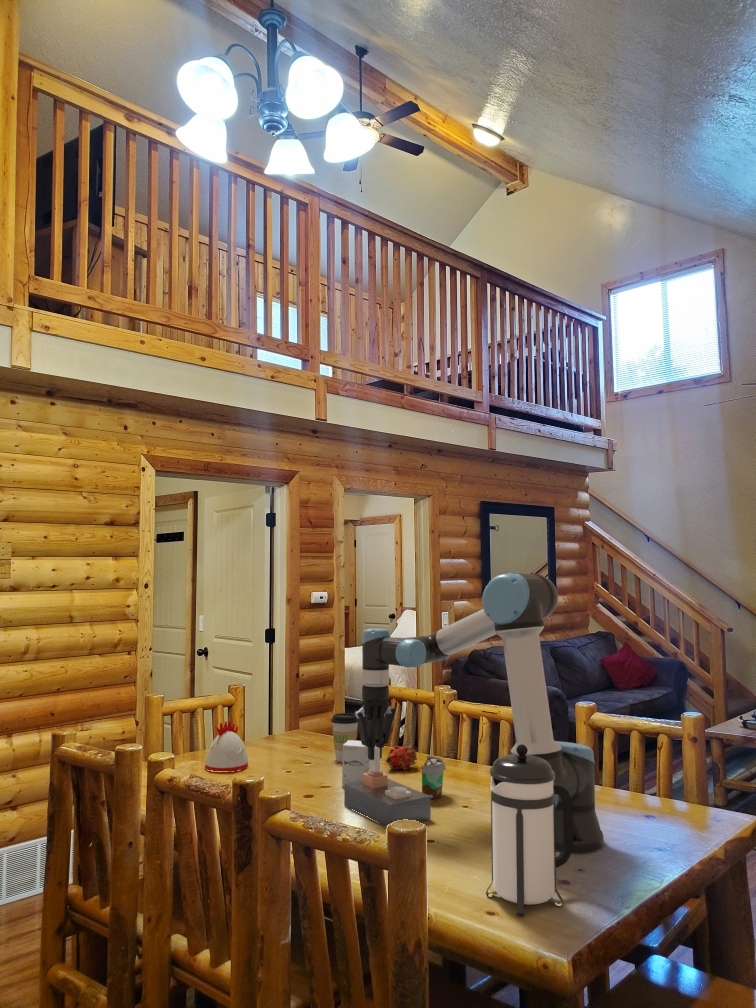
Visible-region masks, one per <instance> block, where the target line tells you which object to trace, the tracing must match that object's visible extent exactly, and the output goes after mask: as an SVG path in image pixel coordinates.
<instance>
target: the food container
mask: <svg viewBox="0 0 756 1008" xmlns="http://www.w3.org/2000/svg"><path fill="white" fill-rule="evenodd" d="M444 761H445V760H444V759H442V758H441V757H437V756H434V755H433V756H432V755H427V756H426V761H425V762H424V765H423V764H422V765H421V792H422V793H424V794H426V795H429V796H430V799H431V802H432V801H438V800H440V799H441V798H442V796H443V784H444V783H443V781H444V780H443V779H444V771H445V770H446V763H445V762H444Z"/></svg>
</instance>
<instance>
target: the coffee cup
mask: <svg viewBox="0 0 756 1008" xmlns="http://www.w3.org/2000/svg"><path fill="white" fill-rule="evenodd" d="M330 722H331V724H332V735H333V736H332V737H333V747H334V754H335V755H334V756H335V760H336V762H340V763H343V745H344V744H345V743H346V742H347V741H348V740H354V741H357V737H358V731H359V728H358V722H357V719H356V717H355V715H354V713H351V712H350V713H349V712H343V713H342V712H341V713H339V712H338V713H335V714H333V716H332V717H331V720H330Z"/></svg>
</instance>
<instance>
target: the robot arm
mask: <svg viewBox="0 0 756 1008" xmlns="http://www.w3.org/2000/svg"><path fill="white" fill-rule="evenodd" d="M481 598H482V599H481V600H482V601H481V602H482V604H481V605H482V609H480V610H479V611H476V612H473V613H471V614H469V615H467V616H466V617H464V618H461V619H459V620H457V621H454V622H453V623H450V624H448V625H447V626H445V627H442V628H440V629H439V630H438V631H435V632H433V633H431V634H429V635H423V636H411V637H392V636H390V631H389V629H387V628H379V627H378V628H374V627H373V628H372V627H371V628H366V629H364V630H363V632H362V642H361V647H362V648H361V651H362V656H361V657H362V665H361V666H362V669H361V670H362V672H361V673H362V674H361V675H362V676H361V677H362V678H361V679H362V680H361V682H362V684H363V685H361V698H362V704H361V706H360V708H359V710H355V711H354V712H353V714H354V715H355V717H356V719H357V722H358V726H357V728H358V732H359V737H360V741H361V743H362V745H364V746H367V747H368V759H370V771H372V772H375V773H376V772H380V771H381V760H380V759H382V757H383V748H385V745H387V744H388V743H389V740H390V735H391V729H392V724H393V720H394V719H393V718H394V716H395V714H396V711H397V709H396V707H392V706H390V702H389V697H390V688H389V687H390V685H388V684H389V683H390V666H397V667H404V668H407V669H410V668H420V667H421V665H422V664H429V663H441V662H443V661H446V660H448V659H449V658H450V657H451V655H453V654H456V653H458V652H460V651H462V650H464V649H467V648H469V647H471V646H473V645H475V644H477V643H480V642H482V641H485V640H487V639H488V638H491V637H494V636H495V635H498V636H499V637H500V638H501V639H502V644H503V645H502V646H503V653H504V660H505V668H506V674H507V682H508V690H509V691H508V692H509V696H510V697H509V698H510V705H511V712H512V721H513V728H514V729H513V730H514V735H515V744H514V745H513V747H512V748H510V755H512V754H518V753H517V751H516V749H517V746H518V745H520V744H523V745H525V746H526V747H527V750H528V751H527V754H526V755H532V756H536V757H540V758H542V759H544V760H546V761H547V762H548V763H549V764H550V765H551V767H552V770H553V771H554V772H555V779H554V781H553V785H559V786H562V787H564V788H565V789H566V790H567V791H568V793H569V795H570V797H571V802H572V816H573V847H572V852H571V854H588V852H590V853H594V852H593V851H595V852H597V851H596V850H598V851H600V850H602V849H603V848H604V846H603V845H605V842H604V841H605V840H604V833H603V831H602V830H601V826H600V822H599V819H598V815H597V812H596V788H595V787H596V783H595V781H596V780H595V777H596V775H595V774H596V773H595V764H596V761H595V757H594V751H593V749H592V748H591V746H588V745H585V744H580V743H577V742H576V743H575V742H570V741H569V742H568V741H560V740H559V741H558V740H555V739H554V734H553V728H552V727H553V726H552V720H551V719H552V718H551V712H550V705H549V698H548V690H547V684H546V678H545V670H544V662H543V656H542V650H541V649H542V648H541V647H542V646H541V641H540V635H541V632H542V631H543V630H544V628H545V624H544V619H546V618H548V617H550V616H551V615H552V614H553V612H554V611H555V610H556V608H557V605H558V602H559V601H558V600H559V595H558V589H557V587H556V586H555V584H554V583H553V581H552V580H550V579H549V578H548V577H547V576H545V575H542V574H539V573H519V572H508V573H503V574H502V573H501V574H499V575H496V576H495V577H493V578H492V579H491V580H489V582H488V583H487V585H486V586H485V588H484V590H483V593H482V596H481ZM365 716H366V717H365ZM555 839H556V851H559V852H561V851H562V848H563V805H562V800H561V797H560V796H559V795H558V794H555ZM602 847H603V848H602ZM601 848H602V849H601ZM599 849H600V850H599ZM554 851H555V845H554Z"/></svg>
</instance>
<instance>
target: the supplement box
mask: <svg viewBox="0 0 756 1008" xmlns="http://www.w3.org/2000/svg"><path fill="white" fill-rule="evenodd" d="M341 765H342V767H341V768H342V769H341V770H342V771H341V772H342V773H341V774H342V776H341V778H342V779H341V788H344V786H345V784H346V783H351V782H357V781H362V780H363V773H367V771H370V759H368V747H367V746H364V745H362V743H361V740H356V741H354V740H348V741H347V742H346V743H345V744H344V745H343V762H342V764H341Z"/></svg>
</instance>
